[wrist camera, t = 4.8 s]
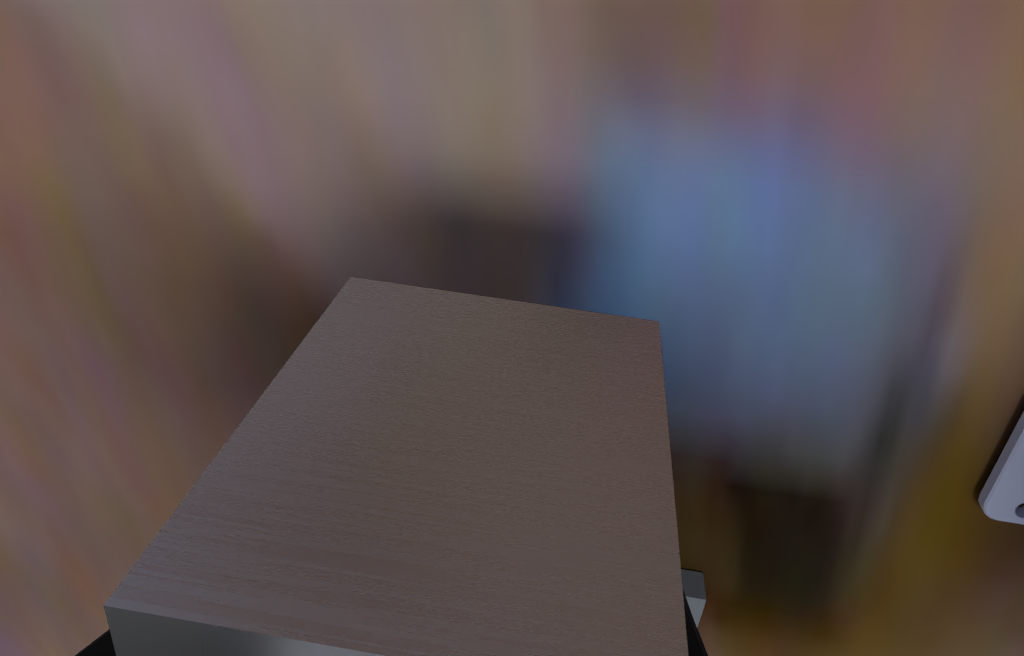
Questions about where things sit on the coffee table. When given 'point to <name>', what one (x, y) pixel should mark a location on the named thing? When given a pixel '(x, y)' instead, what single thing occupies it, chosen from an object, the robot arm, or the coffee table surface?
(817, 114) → the coffee table surface
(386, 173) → the coffee table surface
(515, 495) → the block
